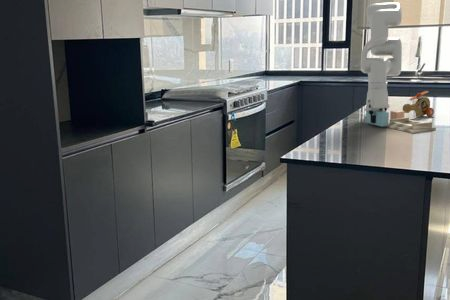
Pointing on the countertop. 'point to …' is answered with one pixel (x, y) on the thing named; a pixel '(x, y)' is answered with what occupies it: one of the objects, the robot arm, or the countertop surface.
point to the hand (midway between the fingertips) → (376, 121)
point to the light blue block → (379, 118)
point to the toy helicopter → (419, 106)
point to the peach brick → (396, 114)
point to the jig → (410, 125)
